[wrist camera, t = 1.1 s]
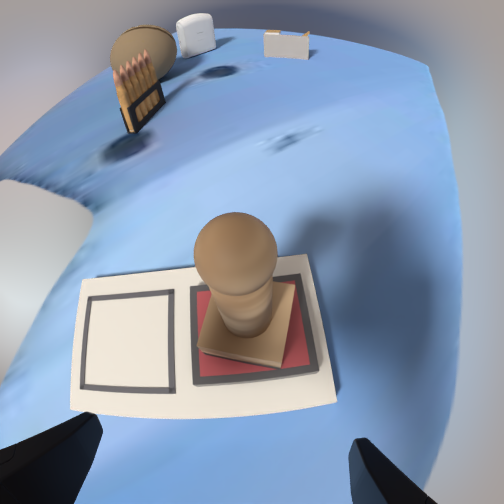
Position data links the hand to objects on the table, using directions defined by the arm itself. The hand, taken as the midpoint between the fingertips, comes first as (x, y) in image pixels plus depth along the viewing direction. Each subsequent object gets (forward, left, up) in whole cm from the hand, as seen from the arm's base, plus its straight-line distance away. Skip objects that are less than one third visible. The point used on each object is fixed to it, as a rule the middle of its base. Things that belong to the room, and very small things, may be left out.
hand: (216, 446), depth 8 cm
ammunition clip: (+29, +39, -14) cm, 51 cm away
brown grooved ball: (+42, +53, -14) cm, 69 cm away
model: (+67, +31, -14) cm, 75 cm away
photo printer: (+62, +55, -14) cm, 84 cm away
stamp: (+7, +4, -11) cm, 13 cm away
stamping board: (+4, +8, -13) cm, 16 cm away
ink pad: (+7, +4, -12) cm, 14 cm away
